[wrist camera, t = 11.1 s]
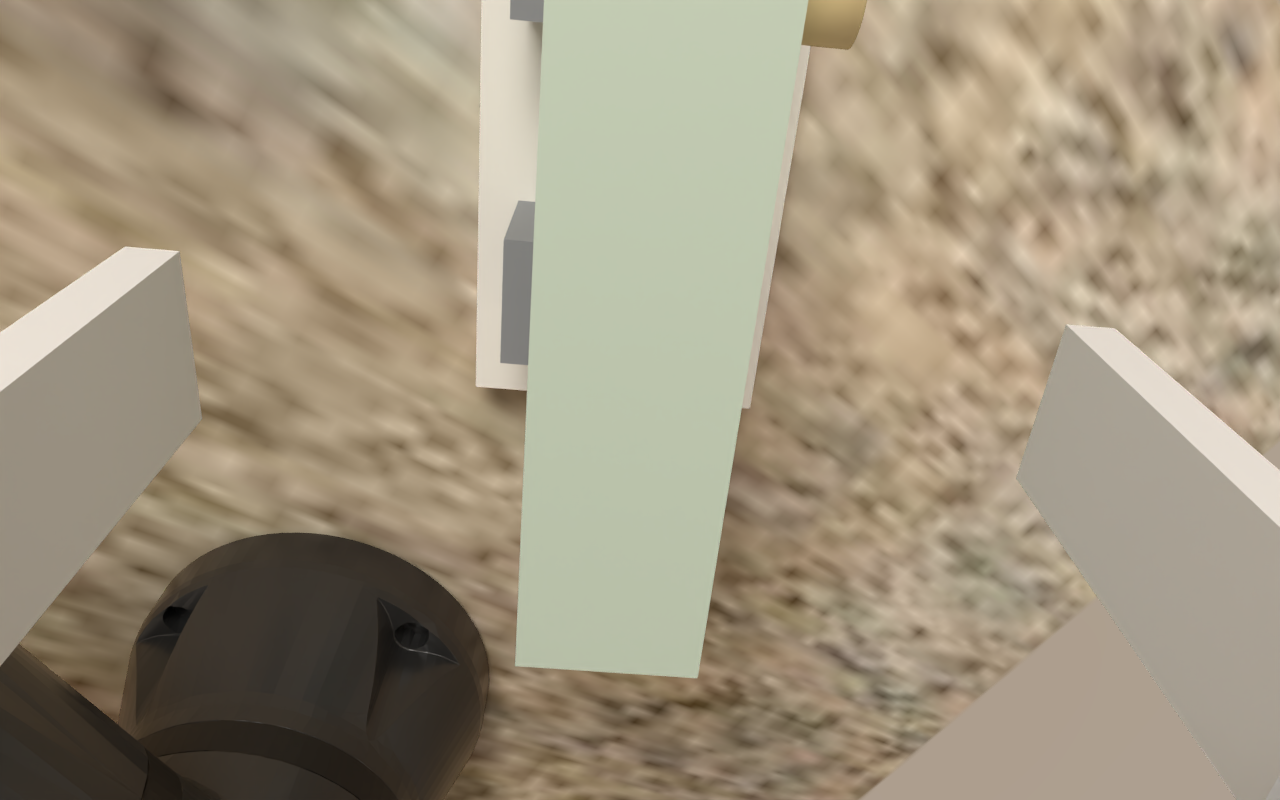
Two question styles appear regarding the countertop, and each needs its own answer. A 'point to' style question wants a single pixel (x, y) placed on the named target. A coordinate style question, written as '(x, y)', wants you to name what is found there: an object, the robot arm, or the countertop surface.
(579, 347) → the door
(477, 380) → the cabinet base
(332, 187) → the countertop surface
